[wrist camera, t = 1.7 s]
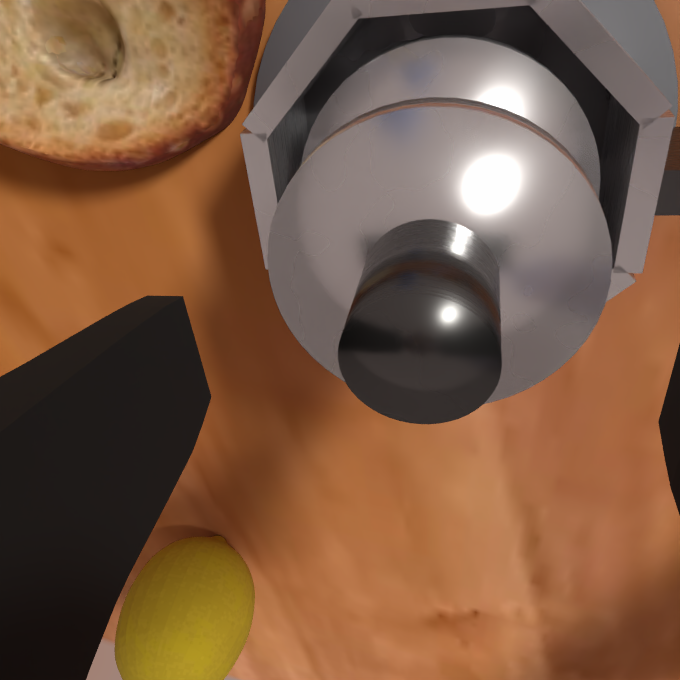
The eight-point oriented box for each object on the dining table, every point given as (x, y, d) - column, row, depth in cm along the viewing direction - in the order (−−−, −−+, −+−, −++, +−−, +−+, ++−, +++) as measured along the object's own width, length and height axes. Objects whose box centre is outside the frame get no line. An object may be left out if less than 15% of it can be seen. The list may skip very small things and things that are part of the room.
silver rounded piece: (577, 313, 15) (620, 529, 10) (321, 307, 17) (247, 494, 12) (620, 21, 12) (725, 128, 6) (286, 44, 13) (152, 148, 8)
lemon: (278, 517, 28) (217, 698, 22) (270, 582, 32) (215, 756, 25) (163, 488, 29) (71, 658, 22) (168, 556, 32) (88, 721, 26)
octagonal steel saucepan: (682, 292, 18) (720, 372, 15) (312, 286, 20) (281, 355, 17) (777, -76, 13) (864, -64, 10) (267, -26, 15) (213, -5, 12)
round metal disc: (631, 315, 19) (634, 323, 19) (287, 307, 21) (284, 314, 21) (726, -135, 13) (732, -136, 12) (221, -77, 15) (215, -76, 15)
